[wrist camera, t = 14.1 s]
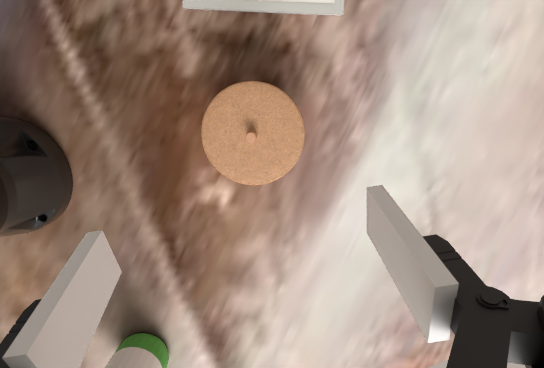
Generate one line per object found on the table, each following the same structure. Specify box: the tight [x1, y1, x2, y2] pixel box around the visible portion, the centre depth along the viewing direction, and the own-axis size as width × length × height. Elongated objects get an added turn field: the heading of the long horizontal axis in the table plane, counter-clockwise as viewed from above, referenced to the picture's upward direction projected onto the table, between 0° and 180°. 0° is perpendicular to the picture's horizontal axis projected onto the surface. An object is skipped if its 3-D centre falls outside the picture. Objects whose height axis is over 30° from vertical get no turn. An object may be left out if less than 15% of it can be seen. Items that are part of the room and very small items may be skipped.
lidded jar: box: [201, 81, 305, 185], centre depth 37 cm, size 11×11×9 cm
